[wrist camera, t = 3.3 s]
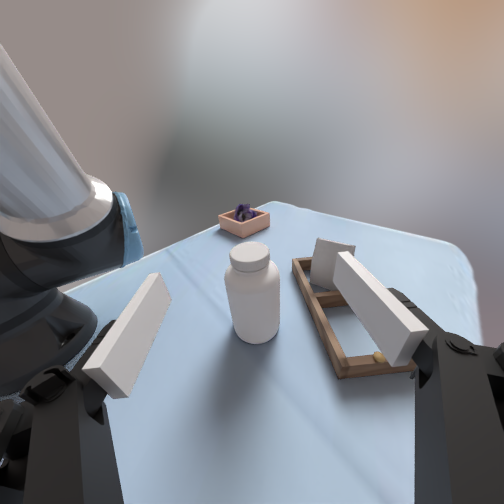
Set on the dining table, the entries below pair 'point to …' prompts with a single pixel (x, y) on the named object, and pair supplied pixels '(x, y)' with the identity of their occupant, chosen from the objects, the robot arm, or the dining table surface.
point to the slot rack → (340, 363)
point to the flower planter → (244, 223)
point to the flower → (244, 213)
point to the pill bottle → (253, 292)
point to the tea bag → (326, 262)
